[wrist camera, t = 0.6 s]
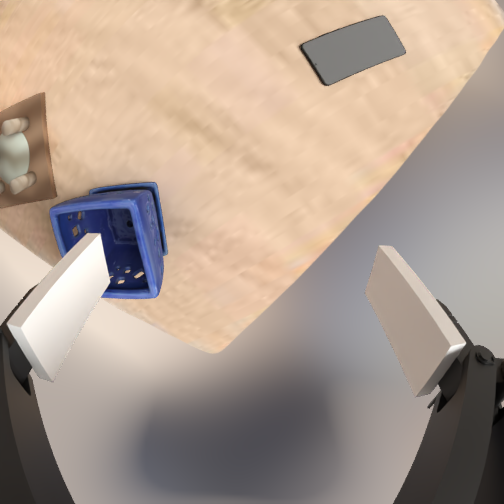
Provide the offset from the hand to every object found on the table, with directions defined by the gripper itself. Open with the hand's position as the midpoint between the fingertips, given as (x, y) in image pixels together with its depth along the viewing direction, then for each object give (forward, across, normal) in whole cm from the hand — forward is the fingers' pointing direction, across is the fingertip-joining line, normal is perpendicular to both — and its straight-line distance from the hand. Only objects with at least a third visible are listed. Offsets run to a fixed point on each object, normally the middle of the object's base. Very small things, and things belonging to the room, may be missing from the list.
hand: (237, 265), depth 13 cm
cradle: (+28, -41, +3) cm, 49 cm away
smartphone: (+28, +14, +18) cm, 37 cm away
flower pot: (+28, -17, -9) cm, 34 cm away
